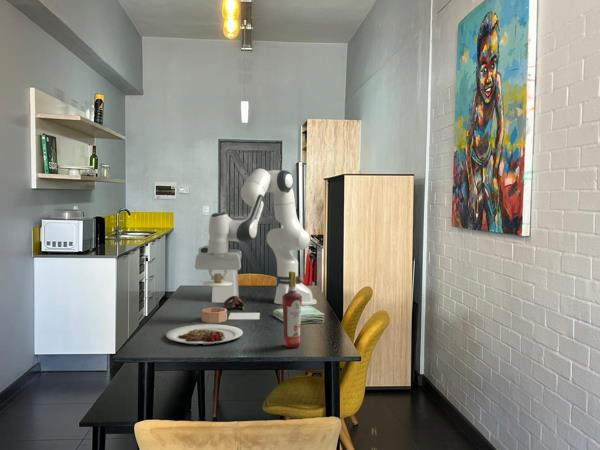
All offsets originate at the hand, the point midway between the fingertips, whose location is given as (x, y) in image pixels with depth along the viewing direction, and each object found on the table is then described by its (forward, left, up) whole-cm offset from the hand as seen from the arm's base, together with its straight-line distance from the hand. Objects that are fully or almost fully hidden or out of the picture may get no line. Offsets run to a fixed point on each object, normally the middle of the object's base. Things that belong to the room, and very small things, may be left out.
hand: (217, 279), depth 252 cm
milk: (0, -50, -19) cm, 53 cm away
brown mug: (-6, -24, -19) cm, 31 cm away
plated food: (+2, +28, -19) cm, 34 cm away
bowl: (+1, 0, -19) cm, 19 cm away
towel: (-36, -3, -19) cm, 41 cm away
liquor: (-32, +43, -19) cm, 57 cm away
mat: (-12, -8, -19) cm, 23 cm away
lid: (0, 0, -2) cm, 2 cm away
